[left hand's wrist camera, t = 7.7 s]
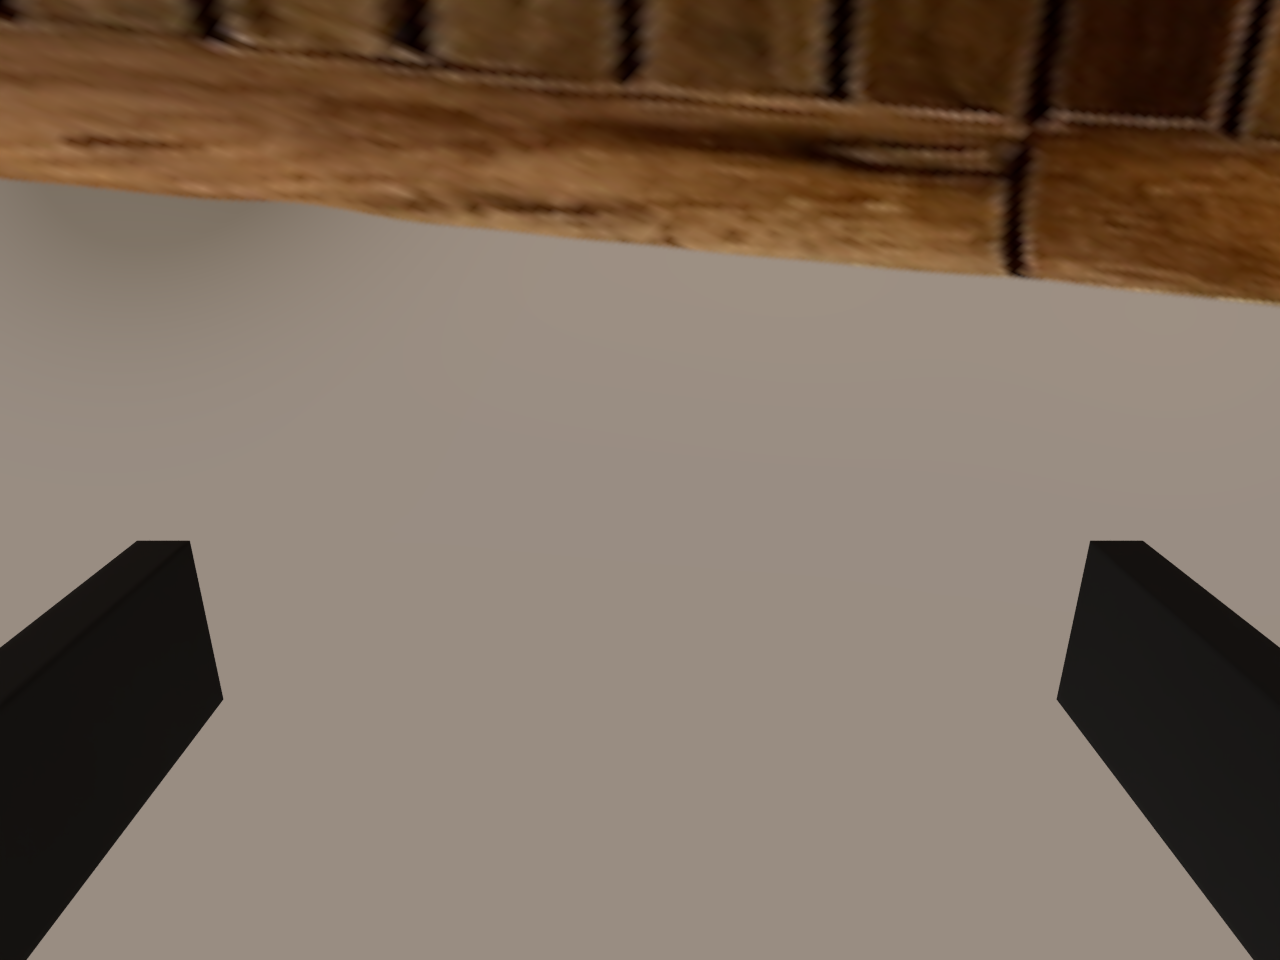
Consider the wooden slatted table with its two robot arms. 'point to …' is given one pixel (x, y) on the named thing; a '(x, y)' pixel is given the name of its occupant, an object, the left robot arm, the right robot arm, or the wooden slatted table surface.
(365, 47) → the wooden slatted table surface
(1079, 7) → the wooden slatted table surface
